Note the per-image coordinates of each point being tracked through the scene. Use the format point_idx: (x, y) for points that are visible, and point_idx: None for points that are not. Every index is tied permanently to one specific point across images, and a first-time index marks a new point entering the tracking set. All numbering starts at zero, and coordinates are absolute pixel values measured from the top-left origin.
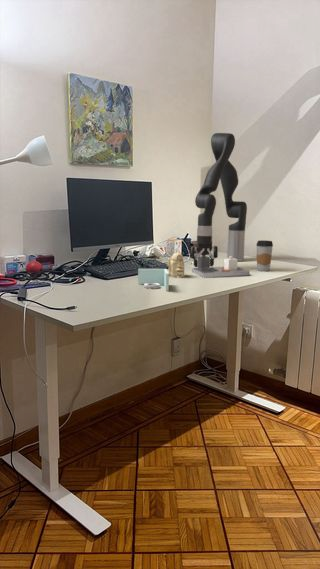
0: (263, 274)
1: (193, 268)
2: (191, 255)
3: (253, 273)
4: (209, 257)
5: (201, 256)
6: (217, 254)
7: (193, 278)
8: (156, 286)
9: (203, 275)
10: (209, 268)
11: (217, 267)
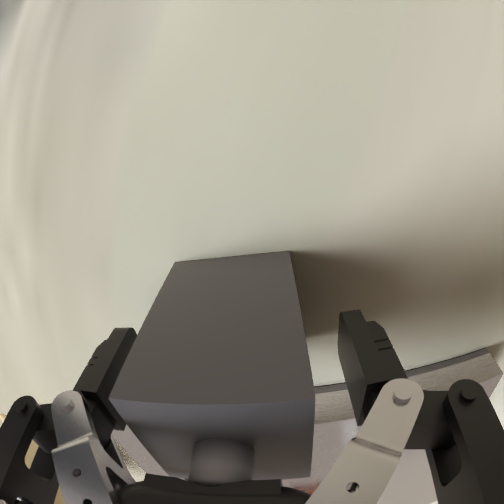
0: (499, 415)
1: None
2: (20, 433)
3: (493, 402)
4: (303, 477)
5: (188, 407)
6: (461, 462)
7: (130, 464)
8: None
9: None
10: None
11: (339, 431)
